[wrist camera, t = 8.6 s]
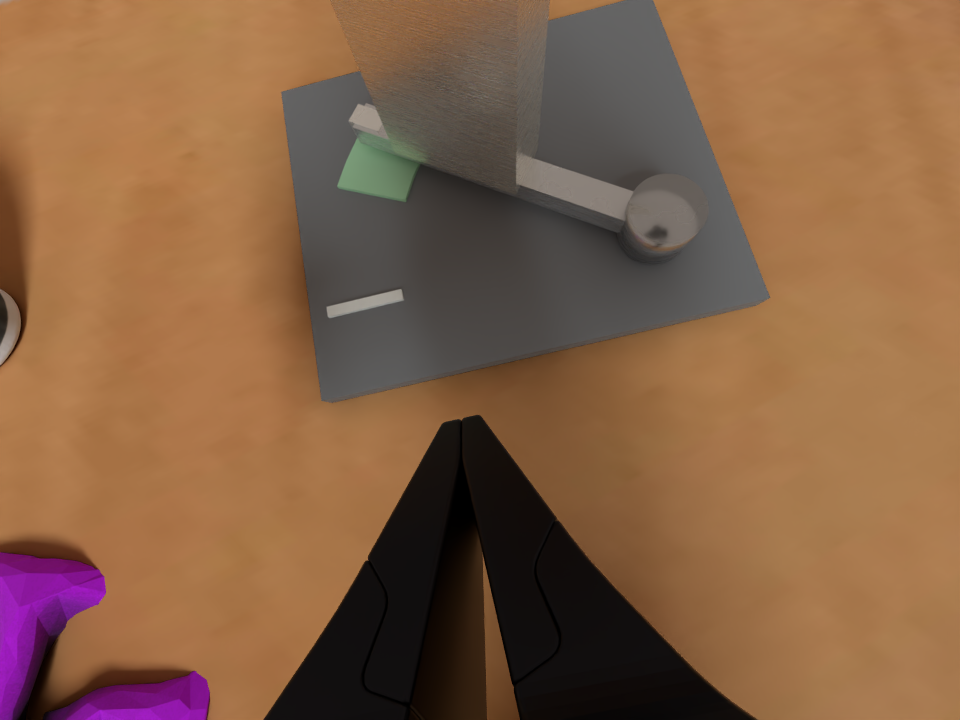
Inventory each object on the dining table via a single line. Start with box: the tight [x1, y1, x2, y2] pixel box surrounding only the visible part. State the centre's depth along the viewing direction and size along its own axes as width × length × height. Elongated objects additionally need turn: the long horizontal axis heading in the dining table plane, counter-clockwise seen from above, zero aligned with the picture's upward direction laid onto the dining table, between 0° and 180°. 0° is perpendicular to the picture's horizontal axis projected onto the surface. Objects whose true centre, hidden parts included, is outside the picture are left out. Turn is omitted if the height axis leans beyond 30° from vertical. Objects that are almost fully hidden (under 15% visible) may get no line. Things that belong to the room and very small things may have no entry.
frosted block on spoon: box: [330, 0, 709, 265], centre depth 12 cm, size 16×3×13 cm, turn 66°
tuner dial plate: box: [281, 0, 770, 403], centre depth 19 cm, size 20×17×1 cm
